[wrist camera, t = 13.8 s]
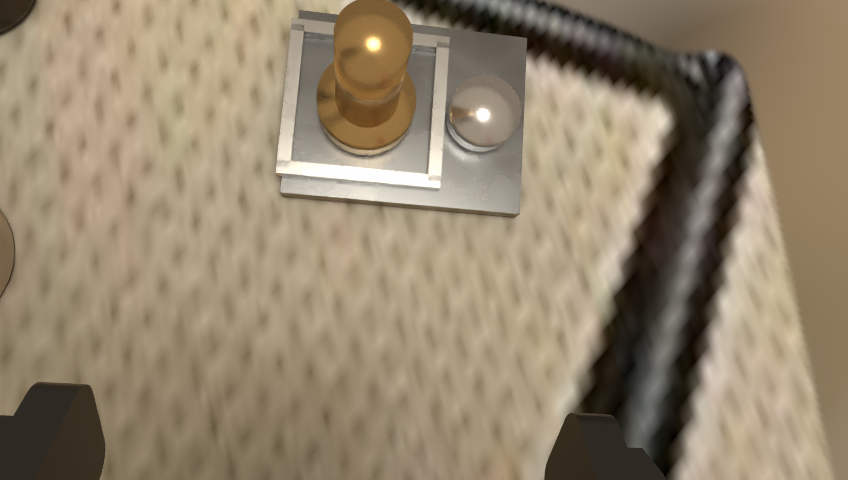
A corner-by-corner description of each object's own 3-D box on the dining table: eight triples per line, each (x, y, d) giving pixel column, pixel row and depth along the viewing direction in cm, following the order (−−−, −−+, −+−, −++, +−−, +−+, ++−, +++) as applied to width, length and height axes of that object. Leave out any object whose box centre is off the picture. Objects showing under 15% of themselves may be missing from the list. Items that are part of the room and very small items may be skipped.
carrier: (277, 196, 40) (271, 183, 37) (296, 18, 42) (292, -8, 39) (514, 217, 42) (528, 207, 38) (521, 46, 43) (535, 23, 40)
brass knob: (313, 150, 39) (304, 86, 29) (322, 59, 40) (316, -32, 30) (409, 159, 40) (431, 100, 30) (415, 70, 41) (439, -15, 31)
